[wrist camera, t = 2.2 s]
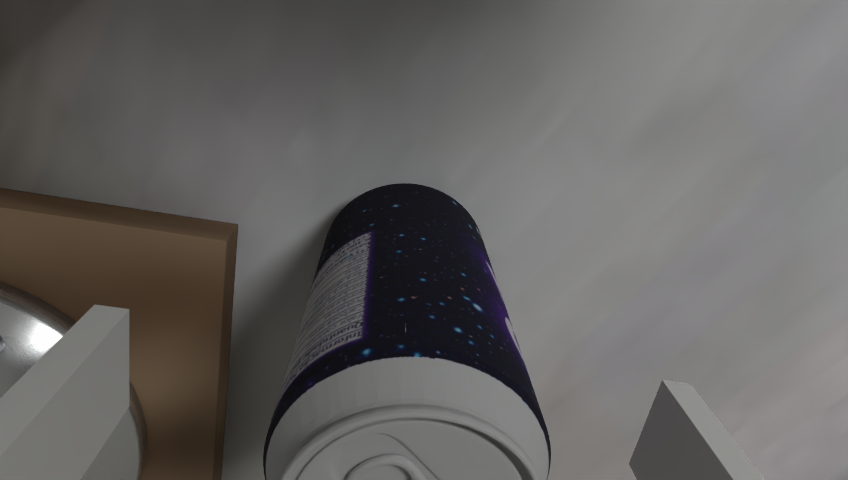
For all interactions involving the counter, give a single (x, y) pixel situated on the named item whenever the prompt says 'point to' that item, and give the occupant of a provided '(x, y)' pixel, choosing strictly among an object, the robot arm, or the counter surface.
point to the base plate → (140, 308)
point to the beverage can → (406, 355)
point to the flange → (28, 341)
